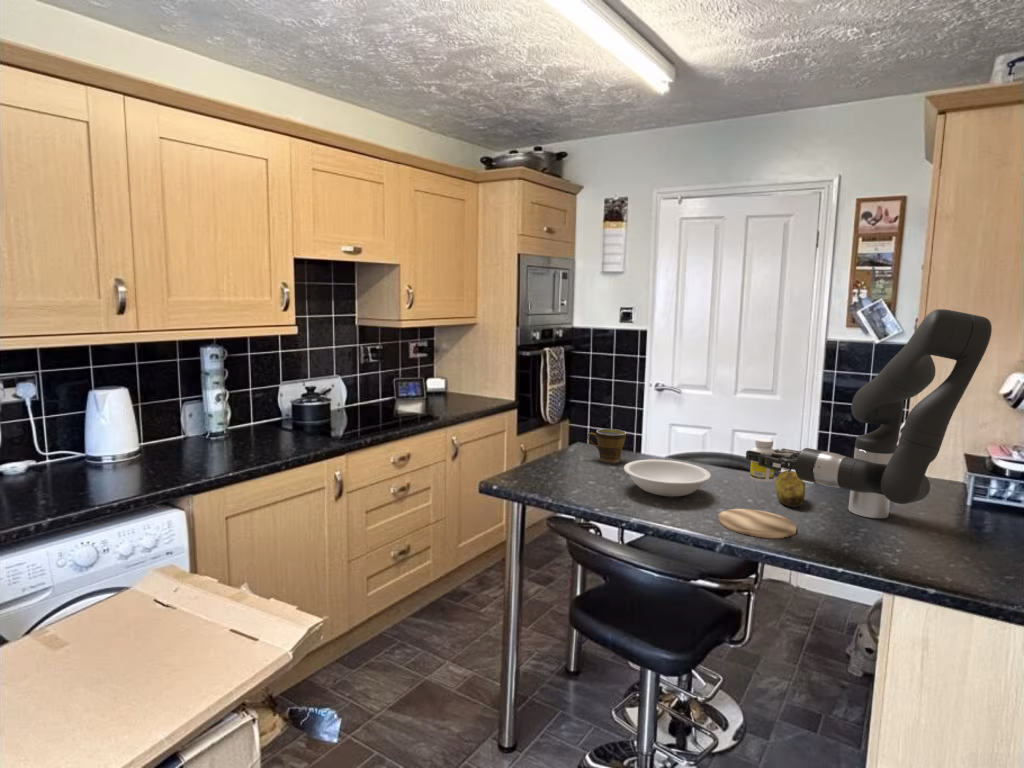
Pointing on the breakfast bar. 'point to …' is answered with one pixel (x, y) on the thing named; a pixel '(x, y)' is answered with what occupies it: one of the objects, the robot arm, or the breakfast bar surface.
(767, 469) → the supplement bottle
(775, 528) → the round wooden board
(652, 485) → the soup bowl
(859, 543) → the breakfast bar surface
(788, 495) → the potato
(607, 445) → the ceramic cup
